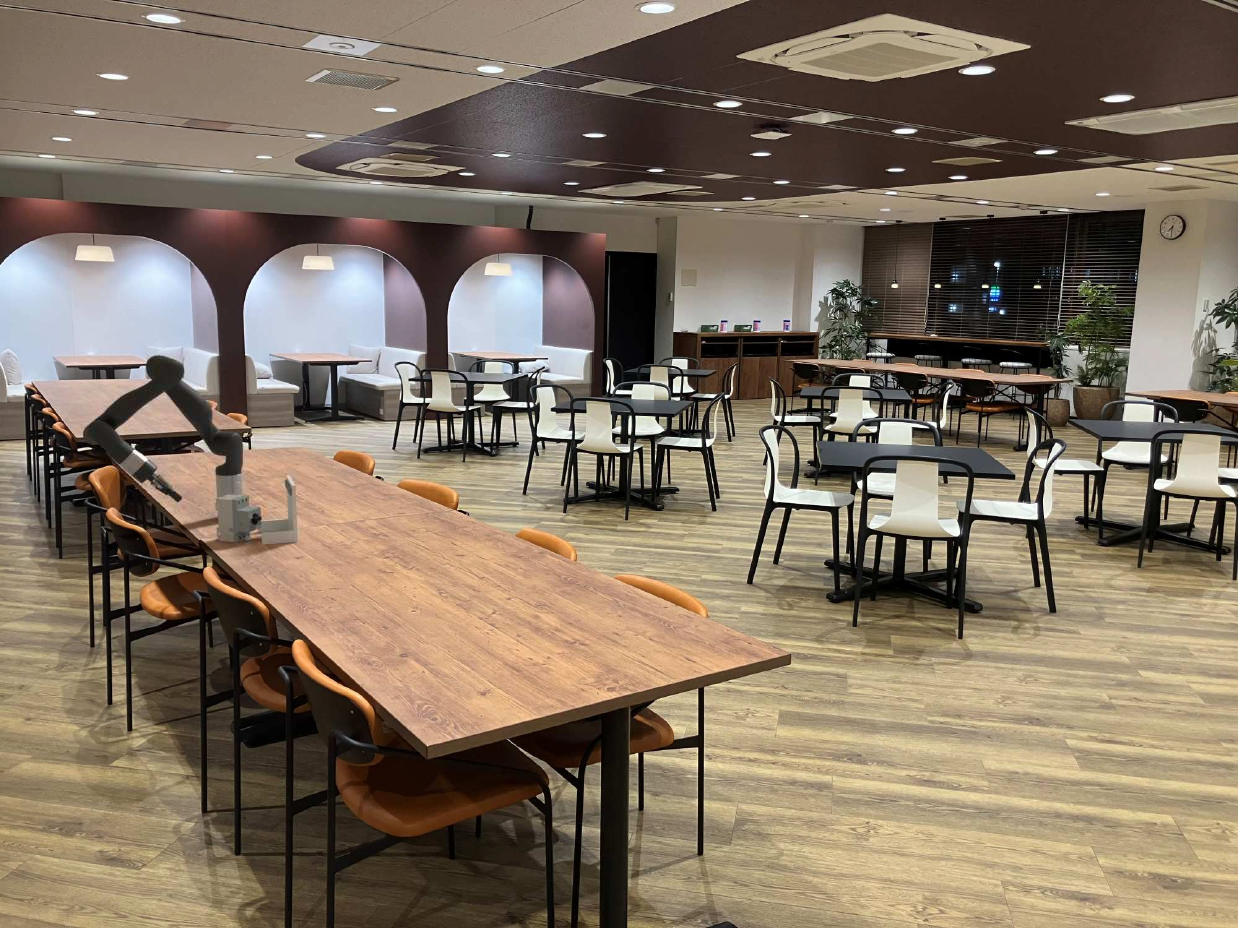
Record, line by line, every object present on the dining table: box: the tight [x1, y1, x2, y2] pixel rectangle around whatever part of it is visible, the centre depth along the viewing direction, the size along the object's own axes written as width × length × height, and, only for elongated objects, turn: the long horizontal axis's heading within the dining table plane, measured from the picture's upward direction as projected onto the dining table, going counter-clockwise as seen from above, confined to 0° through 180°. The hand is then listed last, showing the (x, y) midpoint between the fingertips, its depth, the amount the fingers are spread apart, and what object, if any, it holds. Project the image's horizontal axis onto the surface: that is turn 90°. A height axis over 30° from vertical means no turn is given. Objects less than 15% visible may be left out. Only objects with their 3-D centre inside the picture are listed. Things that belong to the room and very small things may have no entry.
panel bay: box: [257, 475, 299, 545], centre depth 347 cm, size 20×12×20 cm, turn 24°
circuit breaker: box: [214, 494, 263, 543], centre depth 343 cm, size 8×14×15 cm, turn 78°
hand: (180, 500), depth 334 cm, fingers closed
